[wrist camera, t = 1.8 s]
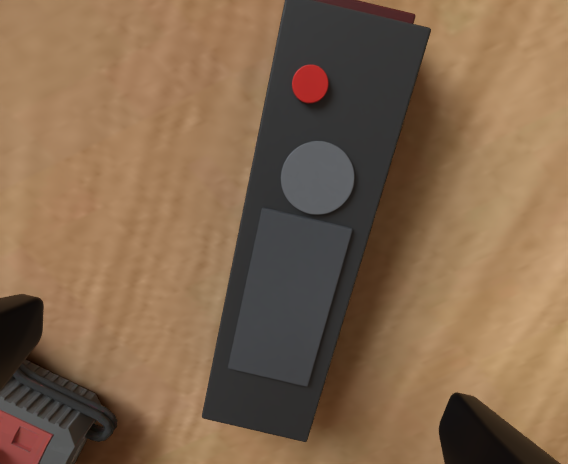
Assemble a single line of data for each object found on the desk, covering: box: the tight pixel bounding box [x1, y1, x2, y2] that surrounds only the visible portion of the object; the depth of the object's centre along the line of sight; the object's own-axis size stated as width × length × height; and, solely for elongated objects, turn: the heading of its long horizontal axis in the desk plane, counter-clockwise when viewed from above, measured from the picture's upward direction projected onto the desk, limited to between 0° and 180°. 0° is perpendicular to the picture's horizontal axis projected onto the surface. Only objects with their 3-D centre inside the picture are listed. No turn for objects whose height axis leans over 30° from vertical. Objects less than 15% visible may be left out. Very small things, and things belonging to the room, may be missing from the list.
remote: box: [202, 0, 431, 442], centre depth 16 cm, size 18×5×3 cm, turn 167°
